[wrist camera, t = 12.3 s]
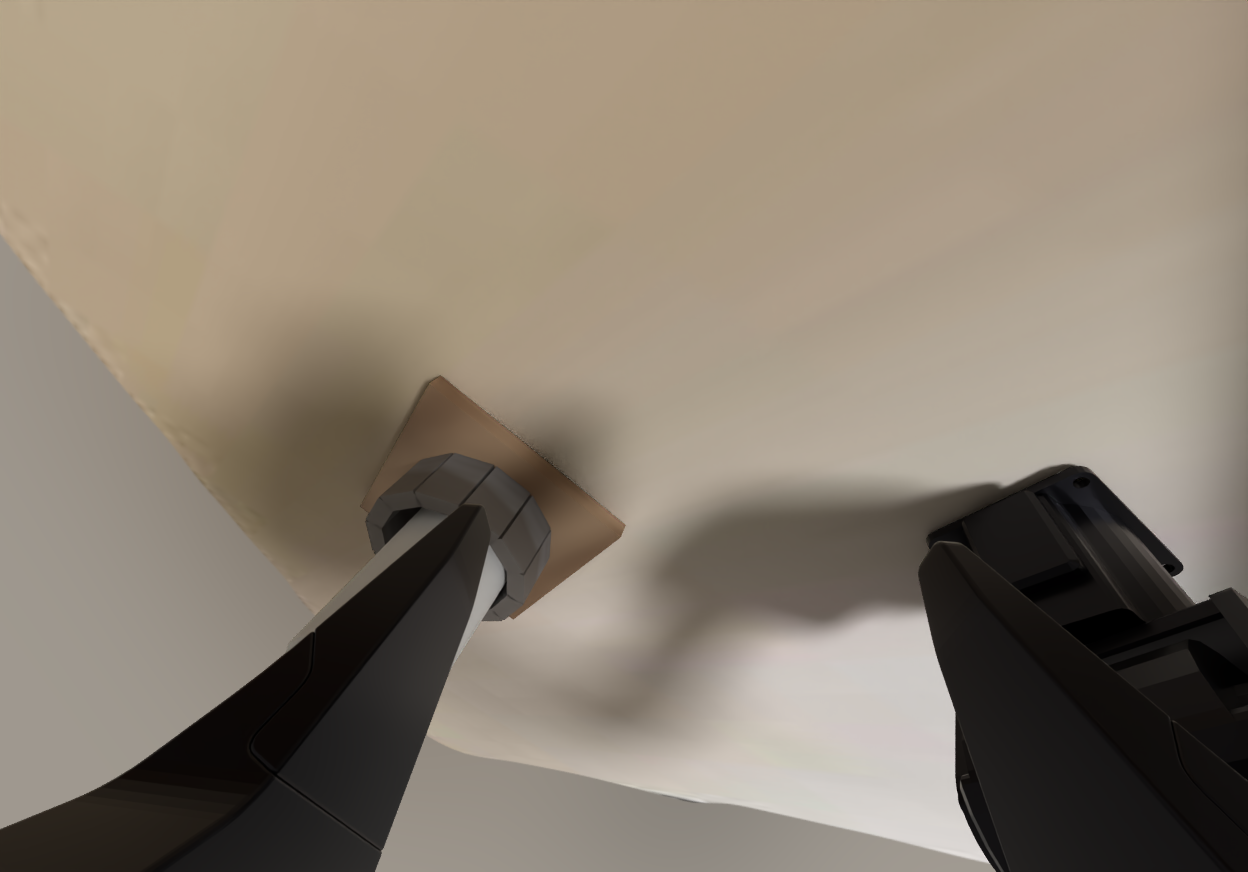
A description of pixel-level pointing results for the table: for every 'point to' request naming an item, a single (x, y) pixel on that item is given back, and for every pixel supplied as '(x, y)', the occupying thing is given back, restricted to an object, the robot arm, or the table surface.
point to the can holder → (489, 496)
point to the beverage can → (398, 545)
